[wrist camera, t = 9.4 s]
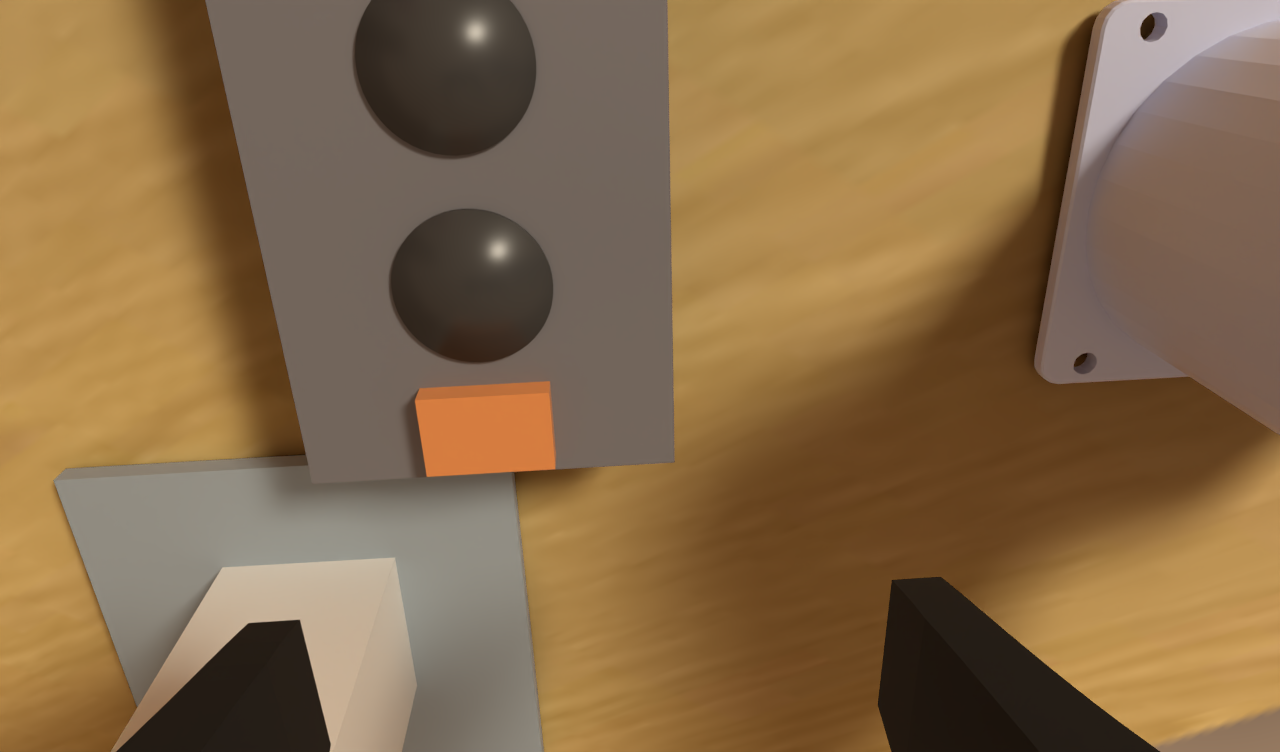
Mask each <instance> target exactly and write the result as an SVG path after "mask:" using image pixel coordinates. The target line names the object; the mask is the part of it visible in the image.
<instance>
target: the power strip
mask: <svg viewBox="0 0 1280 752" xmlns="http://www.w3.org/2000/svg"><path fill="white" fill-rule="evenodd" d="M205 2H206V6H207V11H208V15H209V20H210V24H211V29H212V33H213V38H214V42H215V47H216V51H217V56H218V60H219V65H220V69H221V74H222V78H223V83H224V87H225V92H226V96H227V101H228V105H229V110H230V114H231V119H232V123H233V128H234V132H235V137H236V141H237V146H238V150H239V155H240V159H241V164H242V168H243V173H244V177H245V182H246V186H247V191H248V195H249V200H250V204H251V209H252V213H253V218H254V222H255V227H256V231H257V236H258V240H259V245H260V249H261V254H262V258H263V263H264V267H265V272H266V276H267V281H268V285H269V290H270V294H271V299H272V303H273V308H274V312H275V317H276V321H277V326H278V330H279V335H280V339H281V344H282V348H283V353H284V357H285V362H286V366H287V371H288V375H289V380H290V384H291V389H292V393H293V398H294V403H295V407H296V412H297V416H298V421H299V425H300V430H301V434H302V439H303V443H304V448H305V452H306V457H307V461H308V466H309V470H310V475H311V479H312V484H319V483H336V482H353V481H370V480H387V479H403V478H420V477H437V476H454V475H470V474H487V473H504V472H521V471H538V470H554V469H571V468H588V467H605V466H622V465H638V464H655V463H672V462H675V461H674V398H673V334H672V271H671V207H670V144H669V80H668V17H667V0H205Z"/></svg>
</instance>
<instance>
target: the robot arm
mask: <svg viewBox="0 0 1280 752" xmlns="http://www.w3.org/2000/svg"><path fill="white" fill-rule="evenodd" d="M1149 14H1152V15H1153V17H1154V18H1155V27H1154V29H1153V31H1152V33H1151V34H1150V35H1149V36H1148V37H1147V38H1146V39H1144V40H1143V38H1142V37H1141V35H1140V27H1141V24H1142V22H1143V20H1144V19H1145V18H1146V17H1147V16H1148V15H1149ZM1084 353H1087V358H1086V360H1085V362H1083V363H1082V364H1081V365H1080V366H1076V367H1074V362H1075V360H1076V358H1078V357H1079V356H1080V355H1081V354H1084ZM1034 367H1035V369H1036V371H1037V373H1038V374H1039V375H1040V376H1041V377H1043V378H1044V379H1045V380H1047V381H1048V382H1050V383H1055V384H1067V383H1085V382H1103V381H1120V380H1138V379H1156V378H1174V377H1191V378H1192V379H1194V380H1195V381H1197V382H1198V383H1200V384H1202V385H1203V386H1205V387H1206V388H1208V389H1209V390H1211V391H1212V392H1214V393H1215V394H1217V395H1218V396H1220V397H1222V398H1223V399H1225V400H1226V401H1228V402H1229V403H1231V404H1232V405H1234V406H1235V407H1237V408H1239V409H1240V410H1242V411H1243V412H1245V413H1246V414H1248V415H1249V416H1251V417H1252V418H1254V419H1255V420H1257V421H1259V422H1260V423H1262V424H1263V425H1265V426H1266V427H1268V428H1269V429H1271V430H1272V431H1274V432H1276V433H1277V434H1279V435H1280V0H1118V1H1114V2H1112V3H1110V4H1109V5H1107V6H1106V7H1104V8H1103V10H1102V11H1101V12H1100V14H1099V15H1098V16H1097V17H1096V20H1095V23H1094V26H1093V29H1092V35H1091V41H1090V46H1089V52H1088V58H1087V63H1086V69H1085V75H1084V80H1083V86H1082V92H1081V97H1080V103H1079V109H1078V114H1077V120H1076V126H1075V131H1074V137H1073V143H1072V148H1071V154H1070V160H1069V165H1068V171H1067V177H1066V182H1065V188H1064V194H1063V199H1062V205H1061V211H1060V216H1059V222H1058V228H1057V233H1056V239H1055V245H1054V250H1053V256H1052V262H1051V267H1050V273H1049V279H1048V284H1047V290H1046V296H1045V302H1044V307H1043V313H1042V319H1041V324H1040V330H1039V336H1038V341H1037V347H1036V353H1035V358H1034ZM878 707H879V710H880V714H881V717H882V721H883V724H884V728H885V731H886V734H887V738H888V741H889V745H890V748H891V751H892V752H1160V751H1158V750H1157V749H1156V748H1154V747H1153V746H1151V745H1150V744H1149V743H1147V742H1146V741H1145V740H1143V739H1142V738H1140V737H1139V736H1138V735H1136V734H1135V733H1134V732H1132V731H1131V730H1129V729H1128V728H1127V727H1125V726H1124V725H1123V724H1121V723H1120V722H1119V721H1117V720H1116V719H1115V718H1113V717H1112V716H1111V715H1109V714H1108V713H1107V712H1105V711H1104V710H1103V709H1101V708H1100V707H1099V706H1098V705H1096V704H1095V703H1094V702H1092V701H1091V700H1090V699H1088V698H1087V697H1086V696H1085V695H1083V694H1082V693H1081V692H1080V691H1078V690H1077V689H1076V688H1074V687H1073V686H1072V685H1071V684H1069V683H1068V682H1067V681H1066V680H1064V679H1063V678H1062V677H1061V676H1059V675H1058V674H1057V673H1056V672H1054V671H1053V670H1052V669H1051V668H1049V667H1048V666H1047V665H1046V664H1045V663H1043V662H1042V661H1041V660H1040V659H1039V658H1037V657H1036V656H1035V655H1034V654H1032V653H1031V652H1030V651H1029V650H1028V649H1026V648H1025V647H1024V646H1023V645H1022V644H1020V643H1019V642H1018V641H1017V640H1016V639H1014V638H1013V637H1012V636H1011V635H1010V634H1008V633H1007V632H1006V631H1005V630H1004V629H1002V628H1001V627H1000V626H999V625H998V624H997V623H995V622H994V621H993V620H992V619H991V618H989V617H988V616H987V615H986V614H985V613H984V612H982V611H981V610H980V609H979V608H978V607H976V606H975V605H974V604H973V603H972V602H971V601H969V600H968V599H967V598H966V597H965V596H963V595H962V594H961V593H960V592H959V591H957V590H956V589H955V588H954V587H953V586H951V585H950V584H949V583H948V582H946V581H945V580H944V579H943V578H941V577H931V578H916V579H901V580H892V585H891V593H890V602H889V611H888V620H887V628H886V637H885V646H884V655H883V664H882V672H881V681H880V690H879V699H878ZM330 747H331V743H330V739H329V735H328V731H327V727H326V723H325V719H324V715H323V711H322V707H321V703H320V699H319V694H318V690H317V686H316V682H315V678H314V674H313V670H312V666H311V662H310V658H309V654H308V650H307V646H306V642H305V638H304V634H303V630H302V626H301V622H300V620H286V621H271V622H256V623H248V624H247V625H246V626H245V627H244V628H243V629H241V630H240V631H239V632H238V633H237V634H236V635H235V636H234V637H233V638H232V639H231V640H230V641H229V642H228V643H227V644H226V645H225V646H224V647H223V648H222V649H221V650H220V651H219V652H218V653H217V654H216V655H215V656H213V657H212V658H211V659H210V660H209V661H208V662H207V663H206V664H205V665H204V666H203V667H202V668H201V669H200V670H199V671H198V672H197V673H196V674H195V675H194V676H193V677H192V678H191V679H190V680H189V681H188V682H187V683H186V684H185V685H184V686H183V687H182V688H181V689H180V690H179V691H178V692H177V693H176V694H175V695H174V696H173V697H172V698H171V699H170V700H169V701H168V702H167V703H166V704H165V705H164V706H163V707H162V708H161V709H160V710H159V711H158V712H157V713H156V714H155V715H154V716H153V717H151V718H150V719H149V720H148V721H147V722H146V723H145V724H144V725H143V726H142V727H141V728H140V729H139V730H138V731H137V732H136V733H135V734H134V735H133V736H132V737H131V738H130V739H129V740H128V741H127V742H126V743H124V744H123V745H122V746H121V747H120V748H119V749H118V750H117V751H116V752H330Z"/></svg>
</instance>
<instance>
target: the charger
mask: <svg viewBox="0 0 1280 752" xmlns="http://www.w3.org/2000/svg"><path fill="white" fill-rule="evenodd" d="M286 620H300V622H301V626H302V630H303V634H304V638H305V642H306V646H307V650H308V654H309V658H310V662H311V666H312V670H313V674H314V678H315V682H316V686H317V690H318V694H319V699H320V703H321V707H322V711H323V715H324V719H325V723H326V727H327V731H328V735H329V739H330V743H331V747H330V752H402V749H403V744H404V740H405V736H406V731H407V727H408V723H409V718H410V714H411V709H412V705H413V701H414V696H415V692H416V688H417V683H416V677H415V671H414V665H413V659H412V654H411V648H410V642H409V636H408V631H407V625H406V619H405V613H404V607H403V602H402V596H401V590H400V584H399V578H398V573H397V567H396V561H395V558H378V559H361V560H343V561H326V562H308V563H291V564H273V565H256V566H238V567H222V569H221V570H220V572H219V574H218V575H217V577H216V579H215V580H214V582H213V584H212V585H211V587H210V589H209V590H208V592H207V594H206V595H205V597H204V598H203V600H202V602H201V603H200V605H199V607H198V608H197V610H196V612H195V613H194V615H193V617H192V618H191V620H190V622H189V623H188V625H187V626H186V628H185V630H184V631H183V633H182V635H181V636H180V638H179V640H178V641H177V643H176V645H175V646H174V648H173V650H172V651H171V653H170V654H169V656H168V658H167V659H166V661H165V663H164V664H163V666H162V668H161V669H160V671H159V673H158V674H157V676H156V678H155V679H154V681H153V683H152V684H151V686H150V687H149V689H148V691H147V692H146V694H145V696H144V697H143V699H142V701H141V702H140V704H139V706H138V707H137V709H136V711H135V712H134V714H133V715H132V717H131V719H130V720H129V722H128V724H127V725H126V727H125V729H124V730H123V732H122V734H121V735H120V737H119V739H118V740H117V742H116V744H115V745H114V747H113V748H112V750H111V752H116V751H117V750H118V749H119V748H120V747H121V746H122V745H123V744H124V743H126V742H127V741H128V740H129V739H130V738H131V737H132V736H133V735H134V734H135V733H136V732H137V731H138V730H139V729H140V728H141V727H142V726H143V725H144V724H145V723H146V722H147V721H148V720H149V719H150V718H151V717H153V716H154V715H155V714H156V713H157V712H158V711H159V710H160V709H161V708H162V707H163V706H164V705H165V704H166V703H167V702H168V701H169V700H170V699H171V698H172V697H173V696H174V695H175V694H176V693H177V692H178V691H179V690H180V689H181V688H182V687H183V686H184V685H185V684H186V683H187V682H188V681H189V680H190V679H191V678H192V677H193V676H194V675H195V674H196V673H197V672H198V671H199V670H200V669H201V668H202V667H203V666H204V665H205V664H206V663H207V662H208V661H209V660H210V659H211V658H212V657H213V656H215V655H216V654H217V653H218V652H219V651H220V650H221V649H222V648H223V647H224V646H225V645H226V644H227V643H228V642H229V641H230V640H231V639H232V638H233V637H234V636H235V635H236V634H237V633H238V632H239V631H240V630H241V629H243V628H244V627H245V626H246V625H247V624H248V623H256V622H271V621H286Z"/></svg>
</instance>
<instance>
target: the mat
mask: <svg viewBox="0 0 1280 752" xmlns="http://www.w3.org/2000/svg"><path fill="white" fill-rule="evenodd" d="M53 481H54V483H55V486H56V489H57V491H58V494H59V497H60V499H61V502H62V505H63V508H64V510H65V513H66V516H67V518H68V521H69V524H70V527H71V529H72V532H73V535H74V537H75V540H76V543H77V546H78V548H79V551H80V554H81V556H82V559H83V562H84V565H85V567H86V570H87V573H88V575H89V578H90V581H91V584H92V586H93V589H94V592H95V594H96V597H97V600H98V603H99V605H100V608H101V611H102V613H103V616H104V619H105V622H106V624H107V627H108V630H109V632H110V635H111V638H112V641H113V643H114V646H115V649H116V651H117V654H118V657H119V660H120V662H121V665H122V668H123V670H124V673H125V676H126V678H127V681H128V684H129V687H130V689H131V692H132V695H133V697H134V700H135V703H136V706H137V707H138V706H139V704H140V702H141V701H142V699H143V697H144V696H145V694H146V692H147V691H148V689H149V687H150V686H151V684H152V683H153V681H154V679H155V678H156V676H157V674H158V673H159V671H160V669H161V668H162V666H163V664H164V663H165V661H166V659H167V658H168V656H169V654H170V653H171V651H172V650H173V648H174V646H175V645H176V643H177V641H178V640H179V638H180V636H181V635H182V633H183V631H184V630H185V628H186V626H187V625H188V623H189V622H190V620H191V618H192V617H193V615H194V613H195V612H196V610H197V608H198V607H199V605H200V603H201V602H202V600H203V598H204V597H205V595H206V594H207V592H208V590H209V589H210V587H211V585H212V584H213V582H214V580H215V579H216V577H217V575H218V574H219V572H220V570H221V569H222V567H238V566H256V565H273V564H291V563H308V562H326V561H343V560H361V559H378V558H395V561H396V567H397V573H398V578H399V584H400V590H401V596H402V602H403V607H404V613H405V619H406V625H407V631H408V636H409V642H410V648H411V654H412V659H413V665H414V671H415V677H416V683H417V688H416V692H415V696H414V701H413V705H412V709H411V714H410V718H409V723H408V727H407V731H406V736H405V740H404V744H403V749H402V752H544V748H543V738H542V729H541V719H540V710H539V701H538V691H537V682H536V672H535V663H534V654H533V644H532V635H531V626H530V616H529V607H528V597H527V588H526V579H525V569H524V560H523V550H522V541H521V532H520V522H519V513H518V503H517V494H516V485H515V475H514V472H504V473H487V474H470V475H454V476H437V477H420V478H403V479H387V480H370V481H353V482H336V483H319V484H312V479H311V475H310V470H309V466H308V461H307V457H306V455H293V456H276V457H259V458H242V459H224V460H207V461H190V462H173V463H156V464H138V465H121V466H104V467H87V468H69V469H65V470H64V471H63V472H62V473H61V474H60V475H59V476H58V477H56V478H55V479H54V480H53Z"/></svg>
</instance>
